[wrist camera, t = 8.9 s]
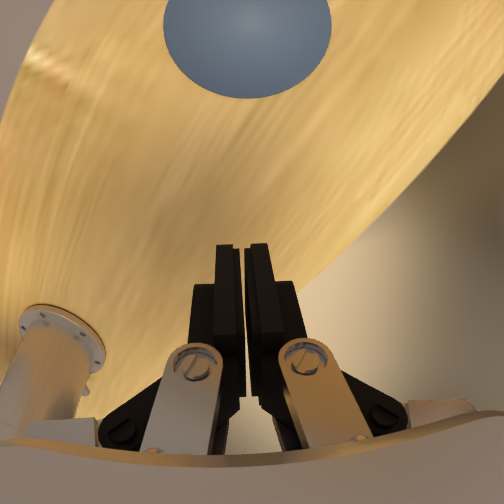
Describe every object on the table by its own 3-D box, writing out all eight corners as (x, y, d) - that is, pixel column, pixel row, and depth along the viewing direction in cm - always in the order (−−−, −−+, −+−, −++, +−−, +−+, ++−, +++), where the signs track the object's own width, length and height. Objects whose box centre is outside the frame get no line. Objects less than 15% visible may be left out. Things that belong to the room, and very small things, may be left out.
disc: (327, 101, 22) (328, 101, 22) (166, 101, 22) (165, 102, 21) (331, -41, 15) (331, -41, 15) (165, -43, 15) (164, -43, 15)
